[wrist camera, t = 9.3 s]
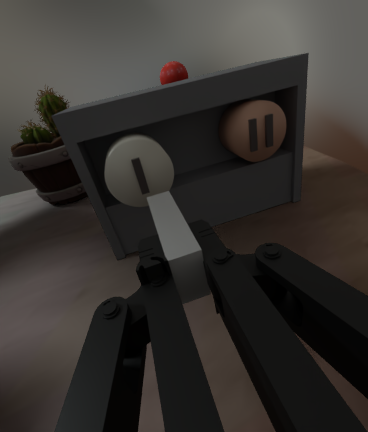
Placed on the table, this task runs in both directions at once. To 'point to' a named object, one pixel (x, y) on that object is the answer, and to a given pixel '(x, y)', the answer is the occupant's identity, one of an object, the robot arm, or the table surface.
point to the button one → (137, 169)
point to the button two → (252, 129)
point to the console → (192, 146)
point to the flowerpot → (47, 157)
